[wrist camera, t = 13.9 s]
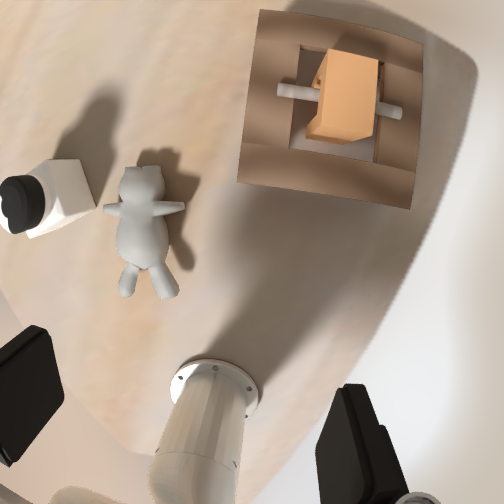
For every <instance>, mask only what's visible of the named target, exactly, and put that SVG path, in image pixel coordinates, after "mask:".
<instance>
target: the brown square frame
mask: <svg viewBox="0 0 504 504" xmlns="http://www.w3.org/2000/svg"><path fill="white" fill-rule="evenodd" d="M300 49H304V50H310V51H316V52H322V53H327V51H328V49H333V50H338V51H343V52H347V53H352V54H356V55H360V56H364V57H368V58H372V59H376V60H378V75H377V78H379V79H381V81H380V97H379V101H376V102H375V114H378V121H377V132H376V141H375V150H374V158H373V163H371V162H366V161H361V160H356V159H351V158H346V157H340V156H335V155H329V154H323V153H317V152H311V151H305V150H298V149H291V148H288V146H289V138H290V130H291V121H292V113H293V105H294V98H296V99H303V100H309V101H315V102H319V93H320V89H318V88H312V87H306V86H299V85H296V78H297V69H298V60H299V51H300ZM422 86H423V44H421V43H418V42H415V41H412V40H409V39H406V38H403V37H400V36H397V35H394V34H391V33H387V32H384V31H380V30H377V29H373V28H369V27H365V26H361V25H357V24H353V23H349V22H344V21H339V20H335V19H329V18H324V17H319V16H313V15H306V14H299V13H292V12H284V11H275V10H264V9H260V12H259V18H258V25H257V32H256V38H255V45H254V52H253V60H252V67H251V74H250V81H249V89H248V96H247V104H246V111H245V119H244V127H243V135H242V143H241V151H240V159H239V168H238V176H237V182H239V183H247V184H256V185H264V186H271V187H279V188H286V189H293V190H300V191H307V192H314V193H320V194H326V195H333V196H339V197H345V198H351V199H356V200H362V201H368V202H373V203H378V204H384V205H389V206H394V207H399V208H404V209H409V210H410V207H411V201H412V194H413V188H414V181H415V173H416V166H417V157H418V148H419V137H420V125H421V110H422Z"/></svg>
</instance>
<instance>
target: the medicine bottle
mask: <svg viewBox="0 0 504 504" xmlns="http://www.w3.org/2000/svg"><path fill="white" fill-rule="evenodd" d="M95 208H96V205H95V203H94V200H93V197H92V194H91V192H90V189H89V186H88V183H87V180H86V177H85V174H84V171H83V168H82V165H81V162H80V160H79V159H47V160H45V161H44V162H42V163H41V164H40V165H38V166H37V167H36V168H34V169H33V170H32V171H30V172H29V173H28V174H26V175H21V176H11V177H8V178H6V179H5V180H4V181H3V182H2V184H1V186H0V223H1V225H2V226H3V227H4V228H5V229H6V230H7V231H8V232H10V233H13V234H17V233H21V232H24V231H26V232H27V235H28V237H29V238H34V237H36V236H39V235H42V234H45V233H48V232H51V231H54V230H56V229H59V228H62V227H63V226H65V225H67V224H69V223H71V222H72V221H74V220H76V219H78V218H80V217H82V216H83V215H85V214H87V213H89V212H91V211H93V210H94V209H95Z"/></svg>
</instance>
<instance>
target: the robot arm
mask: <svg viewBox="0 0 504 504" xmlns="http://www.w3.org/2000/svg"><path fill="white" fill-rule="evenodd" d="M171 396H172V399H173V401H174V403H175V404H174V407H173V409H172V412H171V414H170V417H169V419H168V422H167V424H166V427H165V430H164V432H163V435H162V437H161V440H160V442H159V445H158V447H157V450H156V452H155V455H154V458H153V460H152V463H151V465H150V469H149V471H148V477H147V482H148V489H149V492H150V495H151V497H152V499H153V501H154V503H155V504H235V500H236V492H237V483H238V475H239V467H240V459H241V450H242V442H243V433H244V424H245V421H246V420H248V419H249V418H250V417H251V416H252V415H253V414H254V412H255V411H256V409H257V405H258V398H259V397H258V390H257V387H256V384H255V383H254V381H253V380H252V378H251V377H250V376H249V375H248V374H247V373H246V372H244V371H243V370H242V369H240V368H239V367H237V366H235V365H233V364H230V363H227V362H225V361H220V360H215V359H202V360H196V361H192V362H189V363H187V364H186V365H184V366H182V367H181V368H180V369H179V370H178V371H177V372H176V374H175V375H174V378H173V380H172V382H171ZM63 401H64V391H63V388H62V384H61V380H60V376H59V372H58V367H57V363H56V358H55V354H54V349H53V344H52V339H51V336H50V335H49V334H48V331H47V330H46V329H44V328H41V327H38V326H35V325H31V326H29V327H28V328H26V329H25V330H24V331H22V332H21V333H20V334H19V335H17V336H16V337H15V338H13V339H12V340H11V341H9V342H8V343H7V344H5V345H4V346H3V347H2V348H0V462H1V463H3V464H4V465H6V466H8V467H10V466H11V465H12V464H13V462H17V461H18V460H19V459H20V457H21V456H22V455H23V453H24V452H25V451H26V449H27V448H28V447H29V445H30V444H31V443H32V441H33V440H34V439H35V438H36V436H37V435H38V434H39V432H40V431H41V430H42V429H43V427H44V426H45V425H46V424H47V422H48V421H49V420H50V418H51V417H52V416H53V414H54V413H55V412H56V411H57V410H58V408H59V407H60V406H61V405H62V403H63ZM315 451H316V452H315V456H316V465H317V474H318V483H319V491H320V502H321V504H441V503H440V502H439V501H438V500H437V499H436V498H435V497H433V496H432V495H430V494H427V493H423V492H413V493H409V490H408V487H407V484H406V481H405V478H404V475H403V472H402V470H401V467H400V464H399V461H398V458H397V456H396V453H395V450H394V447H393V445H392V442H391V439H390V436H389V434H388V431H387V429H386V427H385V426H384V425H379V422H378V420H377V417H376V414H375V411H374V409H373V406H372V403H371V401H370V398H369V395H368V393H367V390H366V387H365V386H364V385H363V384H345V385H344V386H343V388H338V389H337V391H336V394H335V397H334V399H333V402H332V405H331V408H330V411H329V413H328V416H327V419H326V422H325V424H324V427H323V429H322V432H321V435H320V437H319V440H318V442H317V445H316V450H315ZM0 504H33V503H31V502H29V501H27V500H25V499H24V498H22V497H20V496H19V495H17V494H16V493H14V492H13V491H11V490H9V489H8V488H6V487H5V486H3V485H2V484H0ZM49 504H125V503H123V502H120V501H117V500H115V499H112V498H110V497H107V496H104V495H101V494H99V493H97V492H94V491H92V490H89V489H86V488H82V487H78V486H68V487H64V488H62V489H60V490H59V491H57V492H56V493H55V494H54V495H53V497H52V498H51V500H50V502H49Z"/></svg>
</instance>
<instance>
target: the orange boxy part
mask: <svg viewBox="0 0 504 504" xmlns="http://www.w3.org/2000/svg"><path fill="white" fill-rule="evenodd" d="M377 75H378V60H376V59H372V58H368V57H364V56H360V55H356V54H352V53H347V52H343V51H338V50H333V49H328V51H327V53H326V55H325V57H324V59H323V61H322V63H321V65H320V67H319V69H318V71H317V73H316V75H315V77H314V79H313V82H312V85H311V87H312V88H318V89H320V93H319V102H318V111H317V115H316V116H315V117H314V118H313V119H312V120H311V122H310V123H309V124H308V125H307V128H306V136H305V139H312V140H318V141H324V142H329V143H335V144H340V145H342V144H346V143H349V142H352V141H356V140H359V139H362V138H366V137H369V136H372V133H373V124H374V114H375V102H376V90H377Z"/></svg>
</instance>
